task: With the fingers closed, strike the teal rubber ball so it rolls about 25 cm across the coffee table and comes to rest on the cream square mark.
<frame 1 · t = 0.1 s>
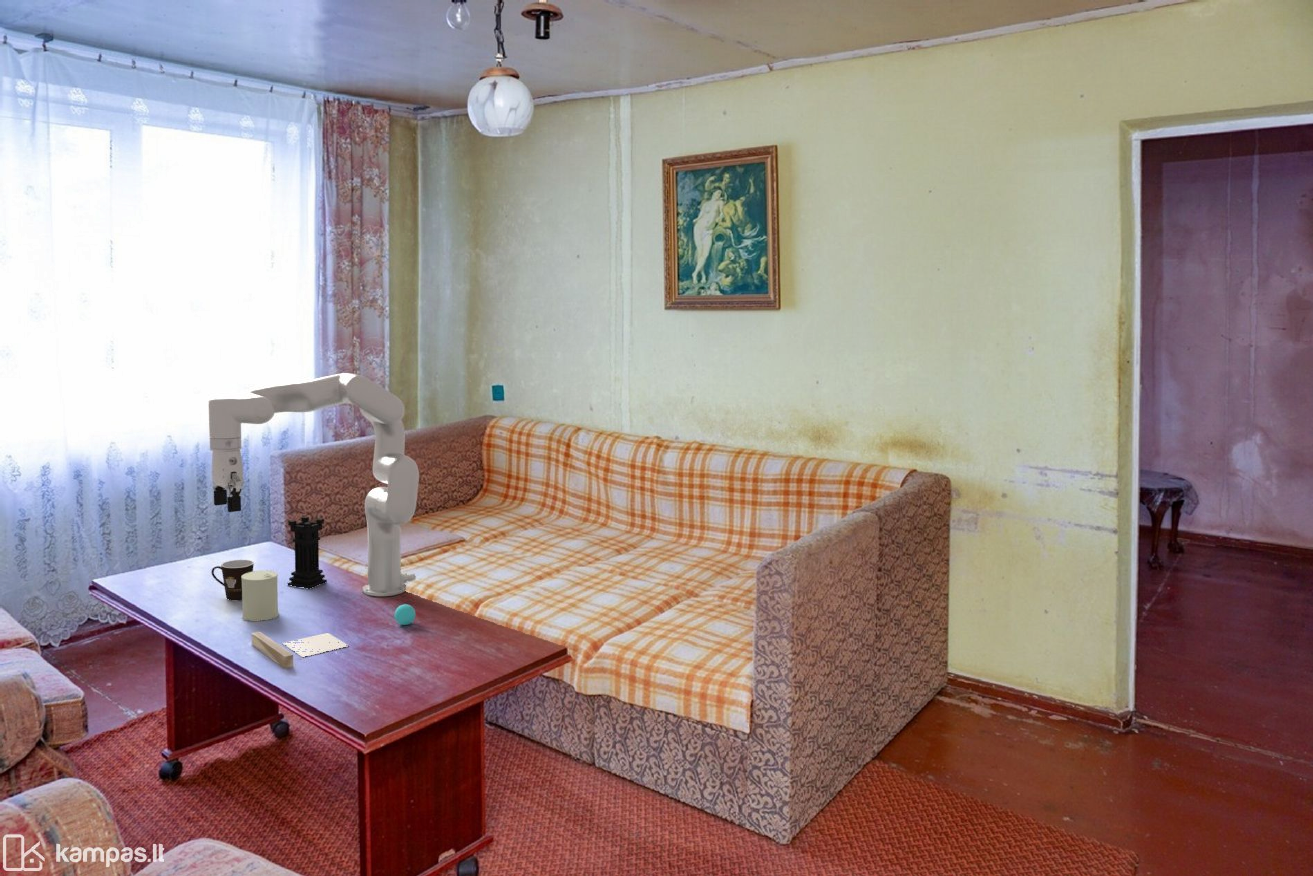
hand: (227, 508, 244), 31 cm above the table, tool pointing down, fingers open, 9 cm apart
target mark: (315, 645, 235), on the table
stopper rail: (272, 655, 227), on the table
coffee mug: (235, 596, 270), on the table
can: (260, 616, 254), on the table
chess piece: (307, 584, 284), on the table
ball: (404, 614, 252), on the table
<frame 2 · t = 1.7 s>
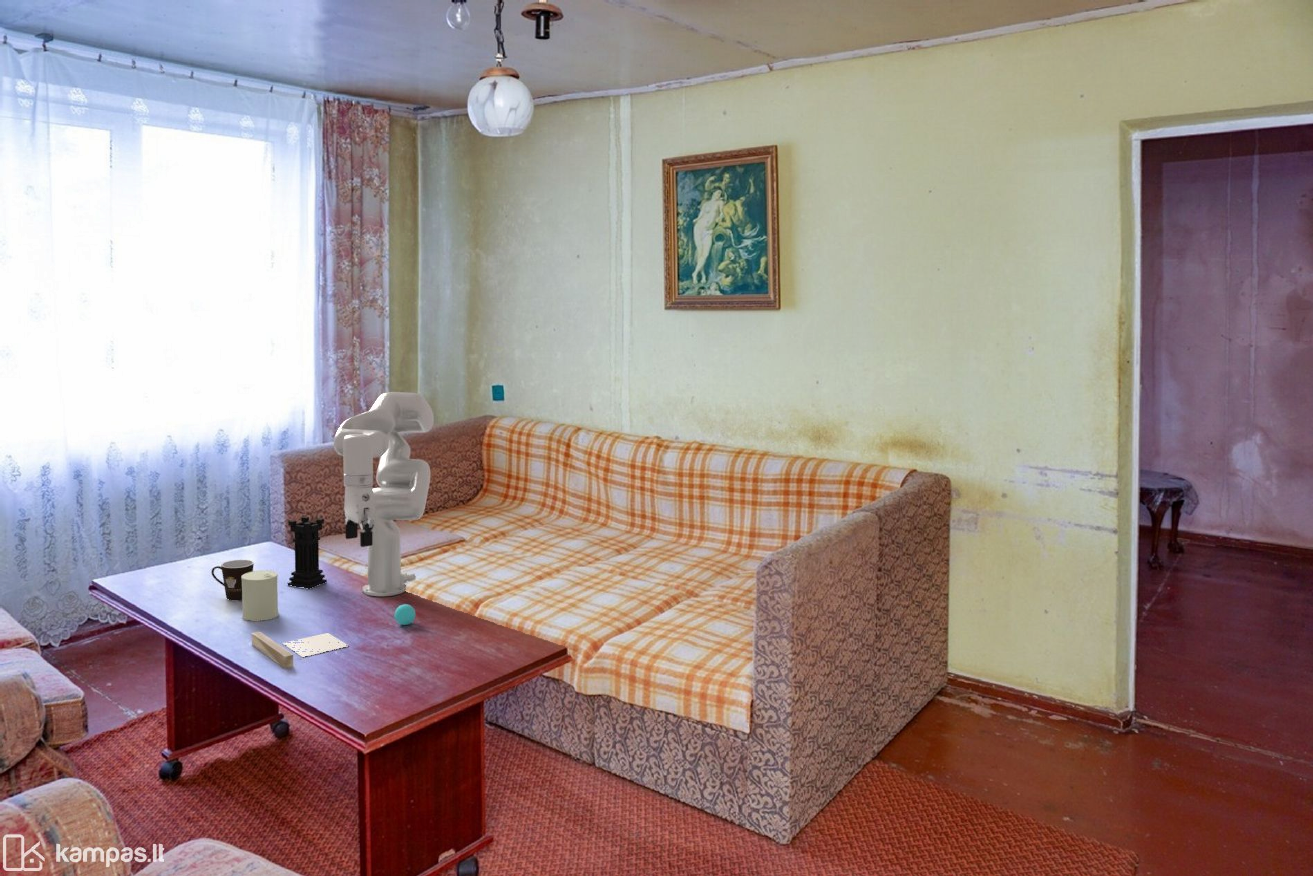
hand: (358, 542, 252), 22 cm above the table, tool pointing down, fingers open, 9 cm apart
nothing on the table moved.
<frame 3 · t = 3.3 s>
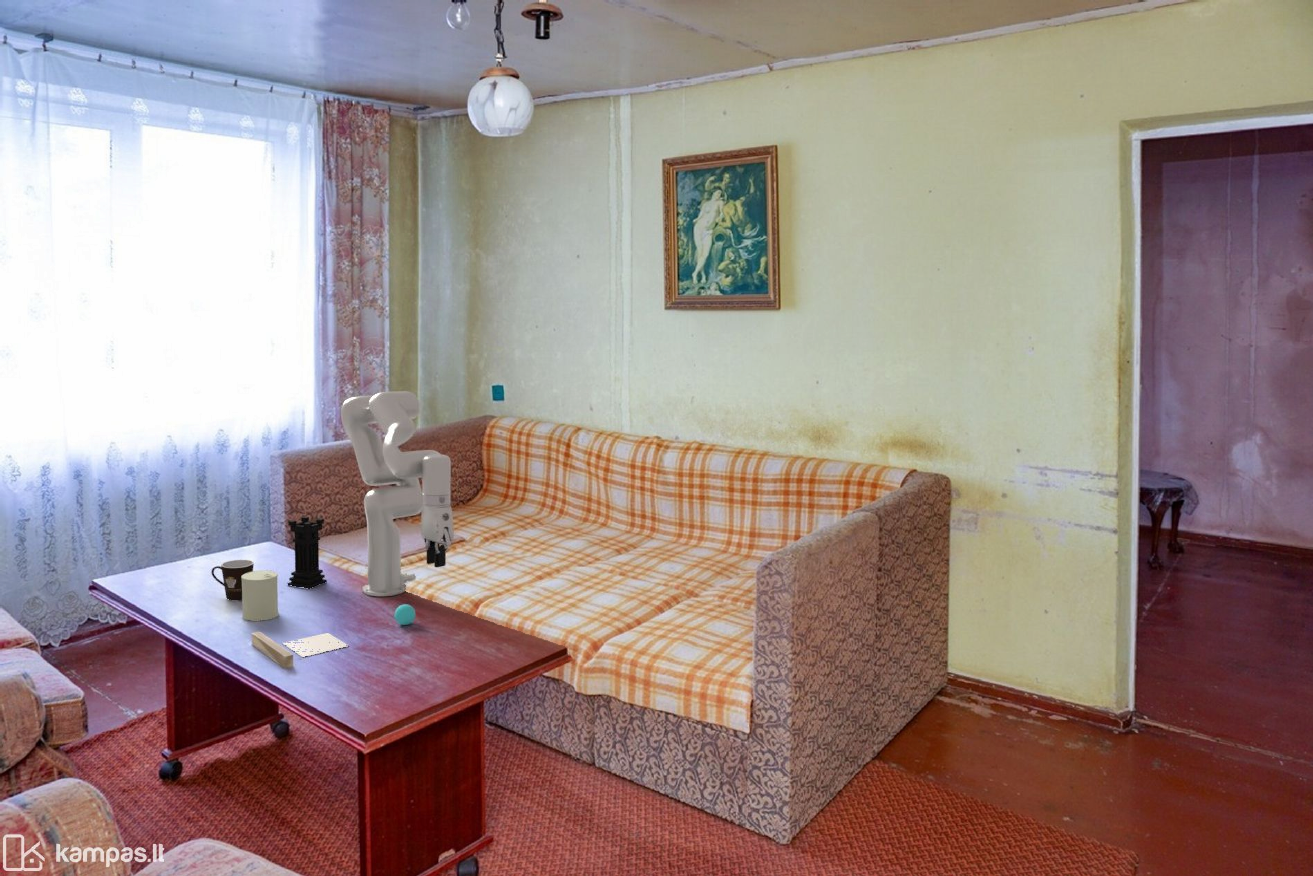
hand: (436, 564, 256), 15 cm above the table, tool pointing down, fingers open, 3 cm apart
nothing on the table moved.
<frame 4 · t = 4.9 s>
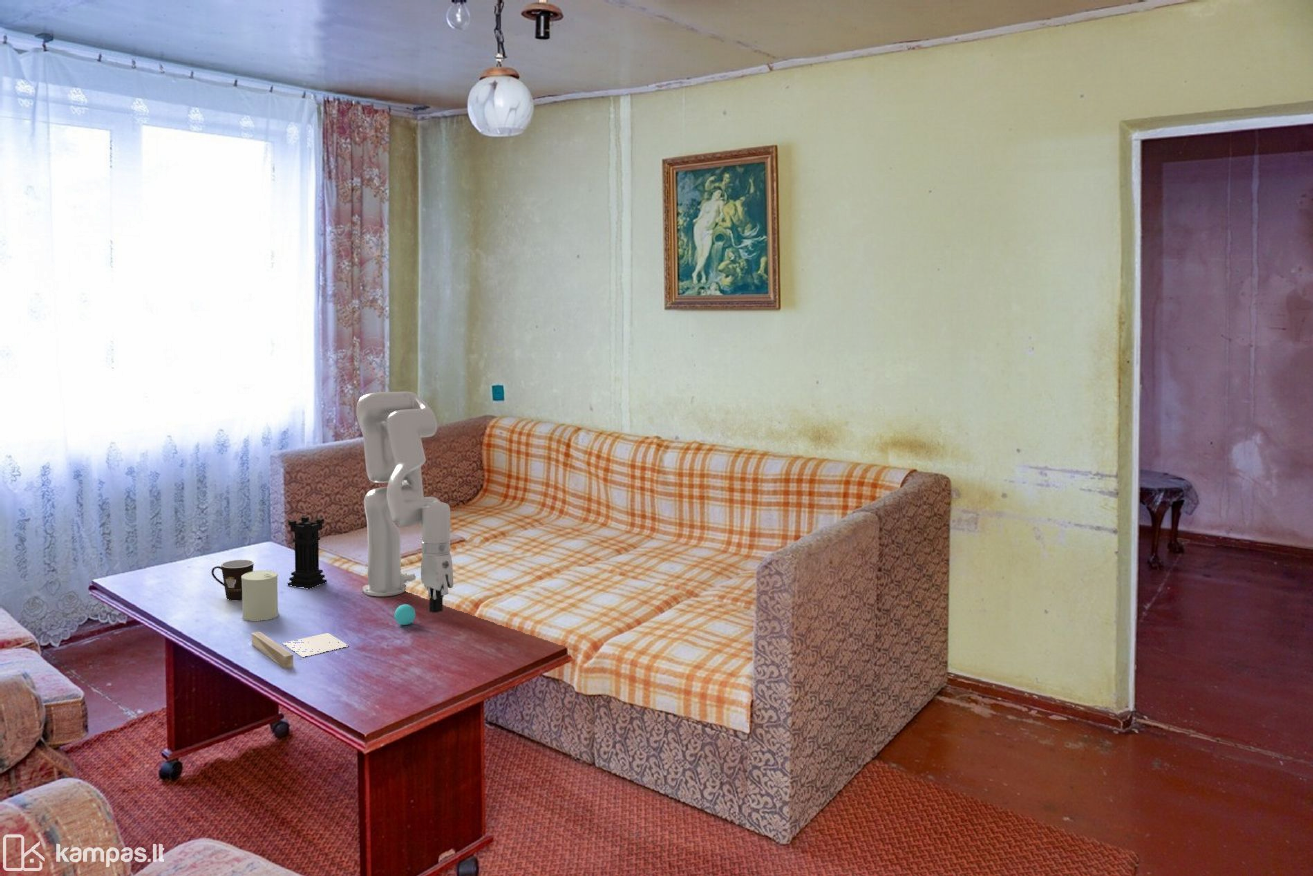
hand: (436, 611, 258), 2 cm above the table, tool pointing down, fingers closed
nothing on the table moved.
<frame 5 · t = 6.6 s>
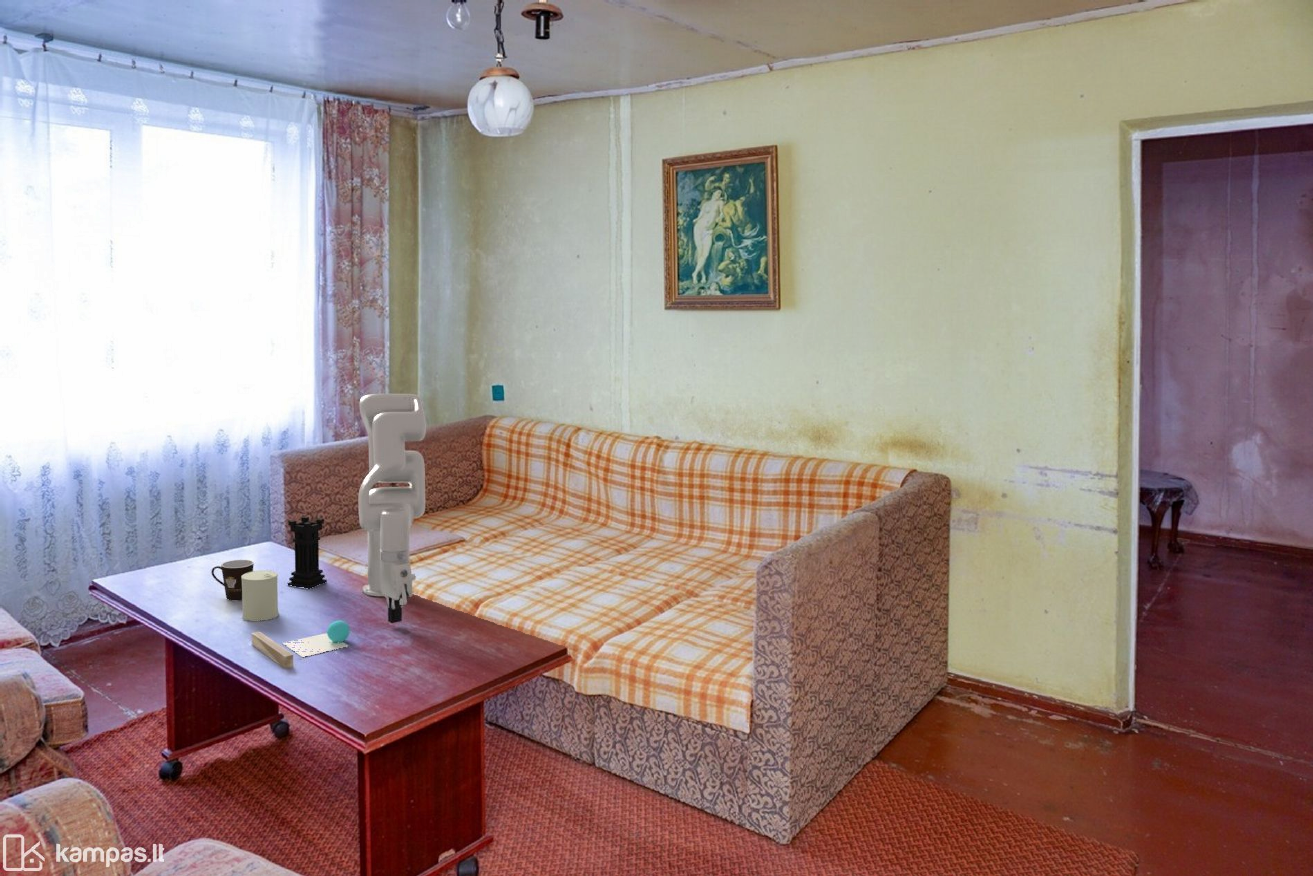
hand: (394, 621, 250), 2 cm above the table, tool pointing down, fingers closed
ball: (338, 631, 237), on the table
everything else where it was.
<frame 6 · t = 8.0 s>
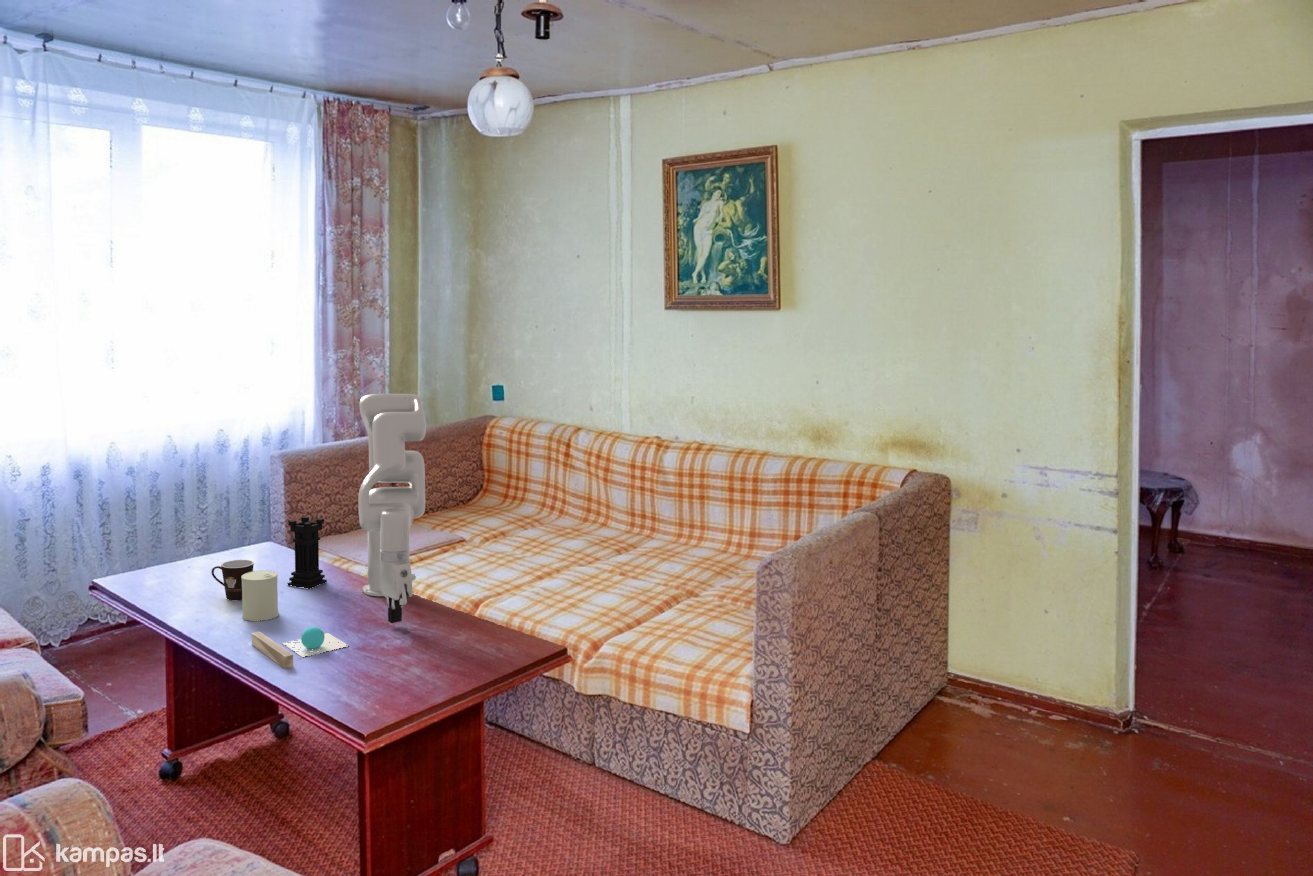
hand: (394, 621, 250), 2 cm above the table, tool pointing down, fingers closed
ball: (312, 637, 232), on the table
everything else where it was.
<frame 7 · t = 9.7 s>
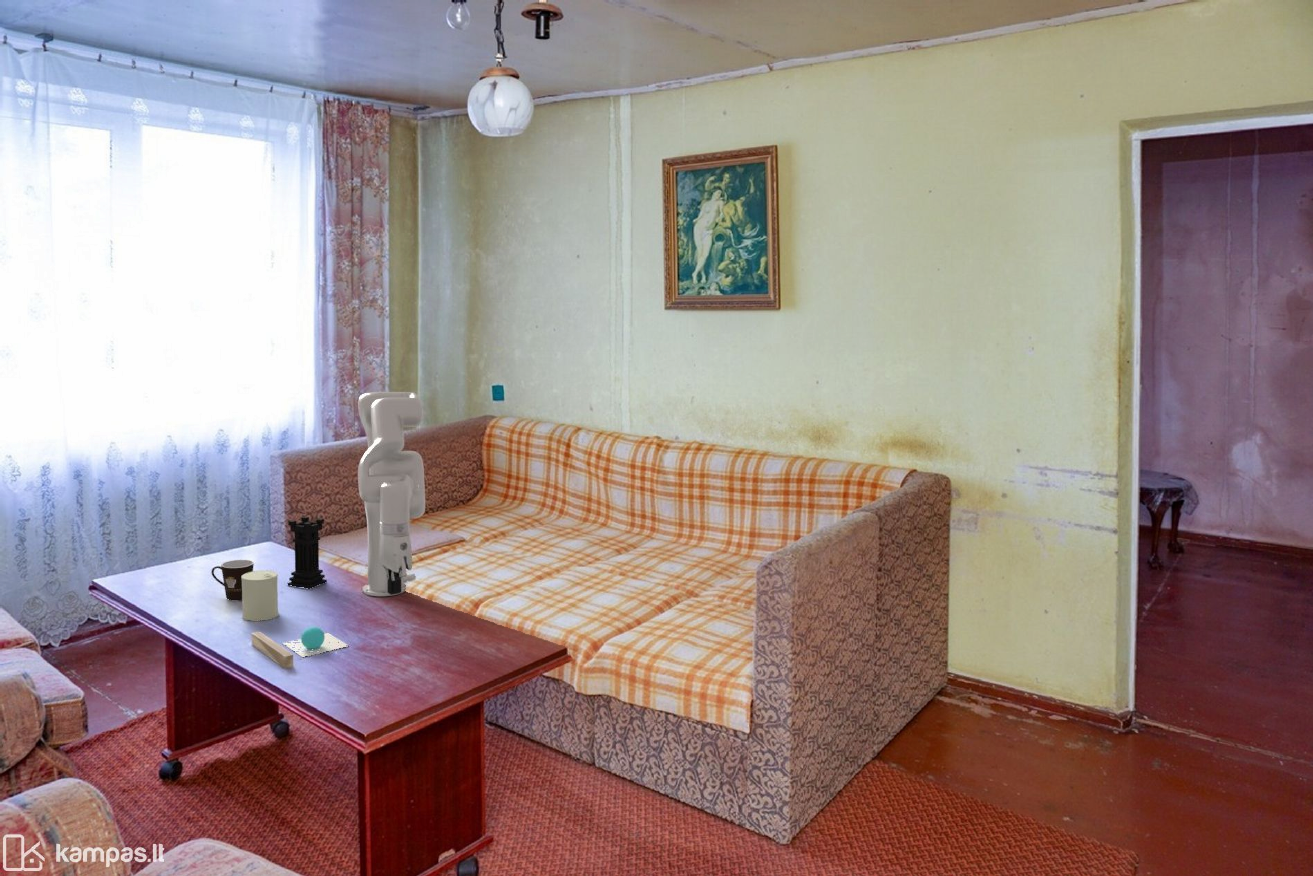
hand: (394, 592, 250), 9 cm above the table, tool pointing down, fingers closed
nothing on the table moved.
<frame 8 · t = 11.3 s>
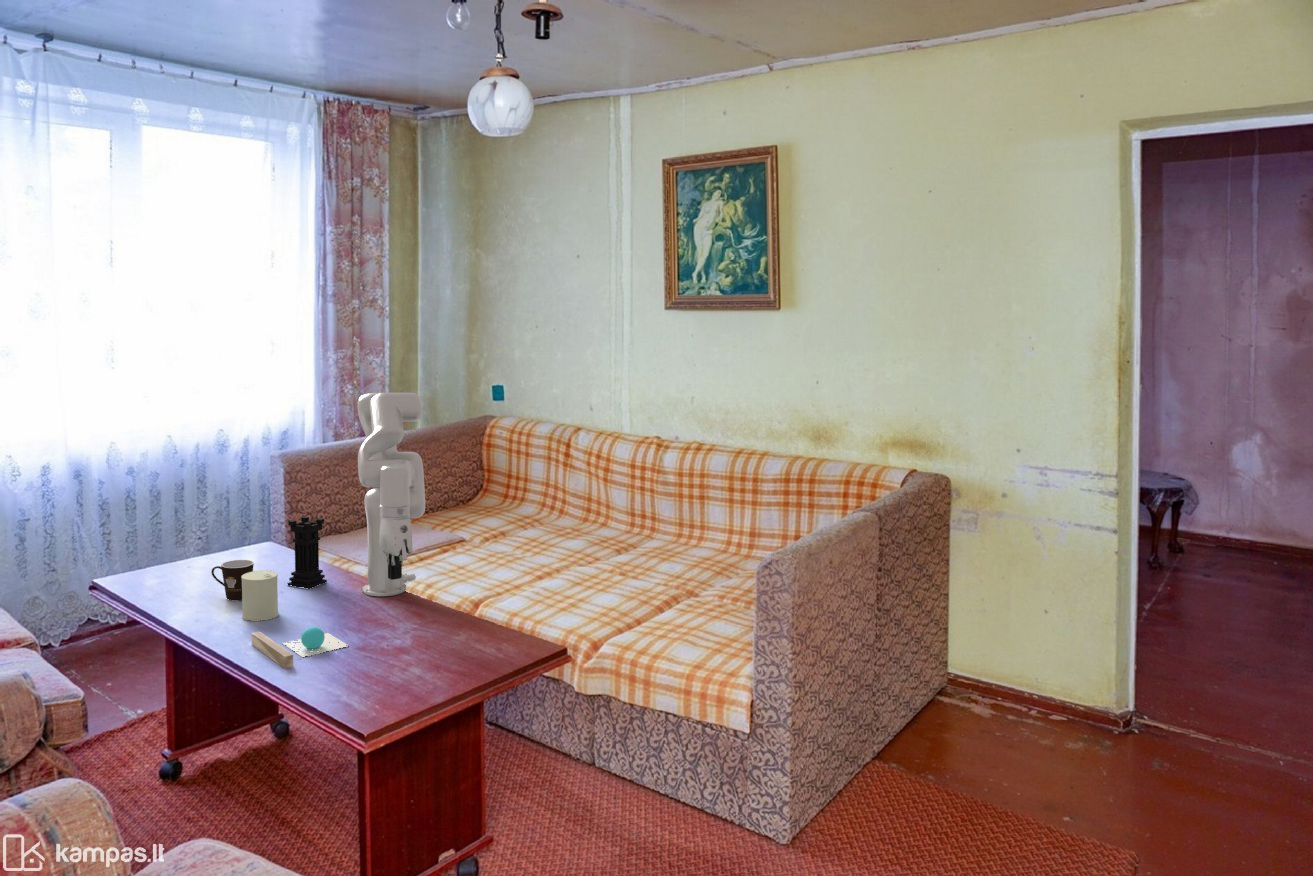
hand: (394, 578, 248), 14 cm above the table, tool pointing down, fingers closed
nothing on the table moved.
at the end: ball 2.2 cm from the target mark (horizontally); ball at rest at the end (0.0 cm/s); ball moved 26.5 cm from its start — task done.
